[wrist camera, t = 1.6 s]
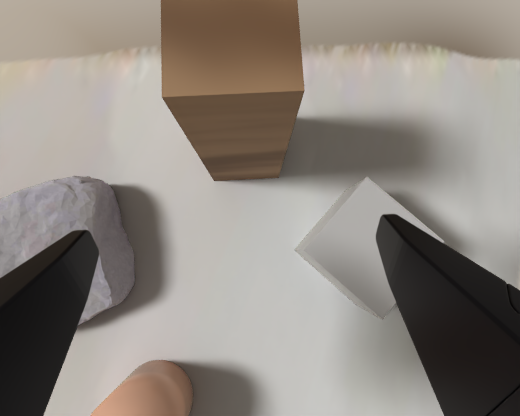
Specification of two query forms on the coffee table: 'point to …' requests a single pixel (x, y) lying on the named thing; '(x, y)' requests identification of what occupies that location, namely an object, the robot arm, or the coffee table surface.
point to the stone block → (63, 222)
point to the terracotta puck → (150, 392)
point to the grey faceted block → (356, 245)
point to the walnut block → (233, 81)
